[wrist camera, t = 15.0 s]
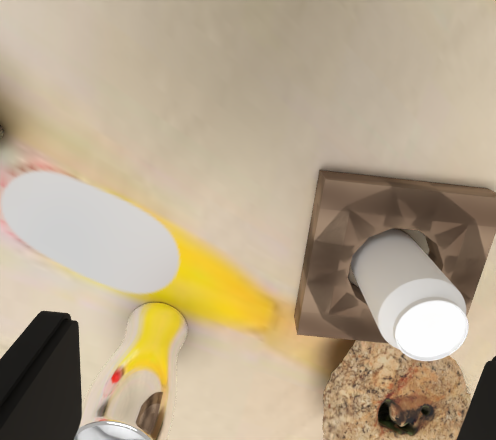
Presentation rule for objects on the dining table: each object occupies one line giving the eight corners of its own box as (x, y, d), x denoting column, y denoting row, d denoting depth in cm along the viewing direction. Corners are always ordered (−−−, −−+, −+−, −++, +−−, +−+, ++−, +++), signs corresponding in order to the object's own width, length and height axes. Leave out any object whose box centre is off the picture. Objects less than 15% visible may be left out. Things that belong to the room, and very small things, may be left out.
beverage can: (347, 227, 39) (385, 296, 28) (415, 220, 38) (483, 287, 27) (348, 286, 41) (384, 372, 30) (413, 280, 41) (474, 365, 29)
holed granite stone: (430, 306, 49) (489, 330, 42) (419, 422, 51) (475, 464, 44) (293, 321, 42) (337, 352, 35) (286, 454, 44) (326, 510, 37)
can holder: (319, 170, 37) (325, 179, 34) (487, 188, 37) (507, 199, 34) (294, 316, 42) (297, 334, 39) (441, 330, 43) (455, 349, 40)
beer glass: (131, 289, 41) (69, 408, 27) (200, 309, 42) (174, 434, 28) (116, 345, 44) (52, 481, 30) (182, 363, 44) (149, 503, 30)
